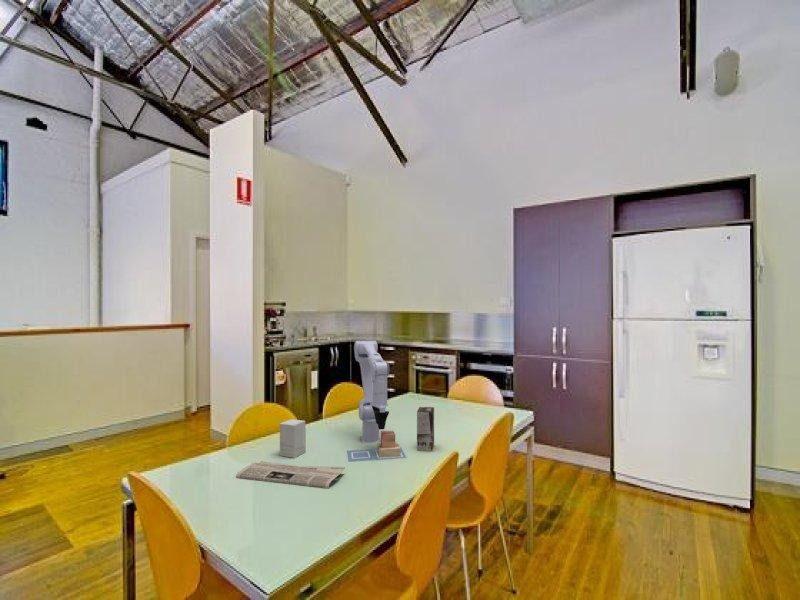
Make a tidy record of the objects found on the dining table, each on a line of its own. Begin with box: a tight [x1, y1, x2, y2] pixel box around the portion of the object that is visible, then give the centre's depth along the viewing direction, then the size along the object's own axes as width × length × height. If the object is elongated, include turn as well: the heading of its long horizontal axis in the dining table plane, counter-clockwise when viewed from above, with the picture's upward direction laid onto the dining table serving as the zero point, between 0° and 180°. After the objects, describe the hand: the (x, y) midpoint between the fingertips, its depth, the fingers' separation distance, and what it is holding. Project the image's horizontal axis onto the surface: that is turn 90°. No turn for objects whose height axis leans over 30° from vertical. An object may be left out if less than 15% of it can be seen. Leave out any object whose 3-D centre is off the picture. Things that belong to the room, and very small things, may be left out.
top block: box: [380, 430, 396, 448], centre depth 162 cm, size 5×5×5 cm
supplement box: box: [279, 418, 307, 459], centre depth 163 cm, size 7×7×13 cm
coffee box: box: [416, 406, 435, 453], centre depth 168 cm, size 9×6×16 cm
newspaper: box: [235, 460, 346, 489], centre depth 142 cm, size 35×12×4 cm, turn 76°
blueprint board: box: [346, 446, 408, 463], centre depth 161 cm, size 12×22×1 cm, turn 100°
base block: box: [376, 441, 402, 458], centre depth 162 cm, size 8×8×3 cm
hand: (380, 426), depth 164 cm, fingers open, 7 cm apart
